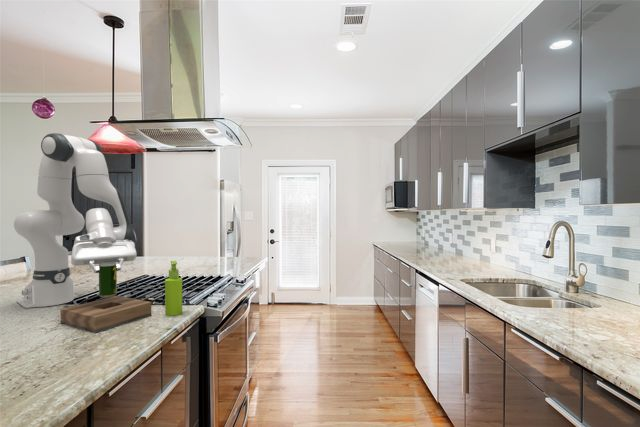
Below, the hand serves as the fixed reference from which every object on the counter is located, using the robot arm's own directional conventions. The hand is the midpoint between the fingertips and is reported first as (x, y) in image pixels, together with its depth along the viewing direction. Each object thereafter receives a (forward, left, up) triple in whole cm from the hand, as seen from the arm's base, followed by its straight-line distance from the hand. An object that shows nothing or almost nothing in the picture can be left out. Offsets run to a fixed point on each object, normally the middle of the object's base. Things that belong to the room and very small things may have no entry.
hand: (108, 270), depth 120 cm
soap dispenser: (+15, +15, -18) cm, 28 cm away
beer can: (0, 0, -9) cm, 9 cm away
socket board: (-1, 0, -17) cm, 17 cm away
